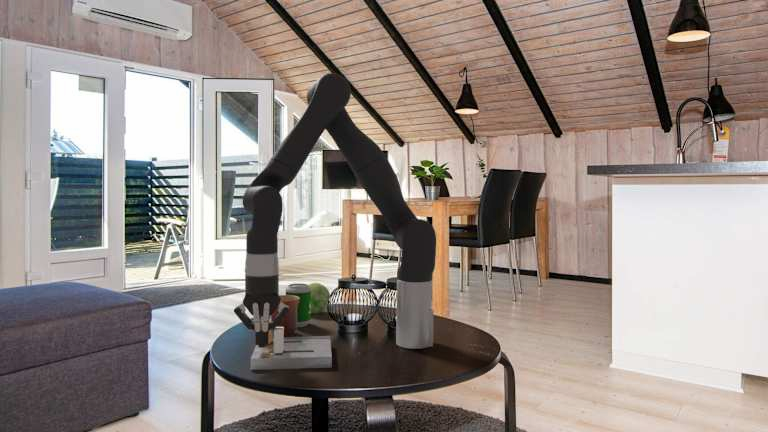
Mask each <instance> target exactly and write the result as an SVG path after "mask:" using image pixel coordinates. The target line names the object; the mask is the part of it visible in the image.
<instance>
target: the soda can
mask: <svg viewBox="0 0 768 432" xmlns="http://www.w3.org/2000/svg"><path fill="white" fill-rule="evenodd" d="M308 285H309V284H307V283H292V284H291V283H290V284H288V286H287V287H285V295H293V296H298V297H300V301H299V304H298V308H297V318H298V327H297V328H303V327H307V326H308V325H309V323H311V314H312V313H311V288H310V287H309V286H308Z"/></svg>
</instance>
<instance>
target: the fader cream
mask: <svg viewBox="0 0 768 432" xmlns="http://www.w3.org/2000/svg"><path fill="white" fill-rule="evenodd" d="M273 337H274V353H283V349H284V327H275V329H274V335H273Z"/></svg>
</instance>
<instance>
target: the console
mask: <svg viewBox="0 0 768 432" xmlns="http://www.w3.org/2000/svg"><path fill="white" fill-rule="evenodd" d="M331 343H332V342H331V335H321V336H320V335H318V336H317V335H315V336H313V335H312V336H311V335H310V336H309V335H308V336H289V337H284V349H283V353H274V336H271V342H270V343H268V344H267V345H266V346H265V348H258V345H256V344H255V347H254V349H253V352H252V354H251V357H250V370H251V371H254V370H255V371H258V370H259V371H260V370H263V371H264V370H293V369H299V370H300V369H327V368H328V369H329V368H332V367H333V366H332V365H333V364H332V363H333V362H332V361H333V355H332V344H331Z"/></svg>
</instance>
